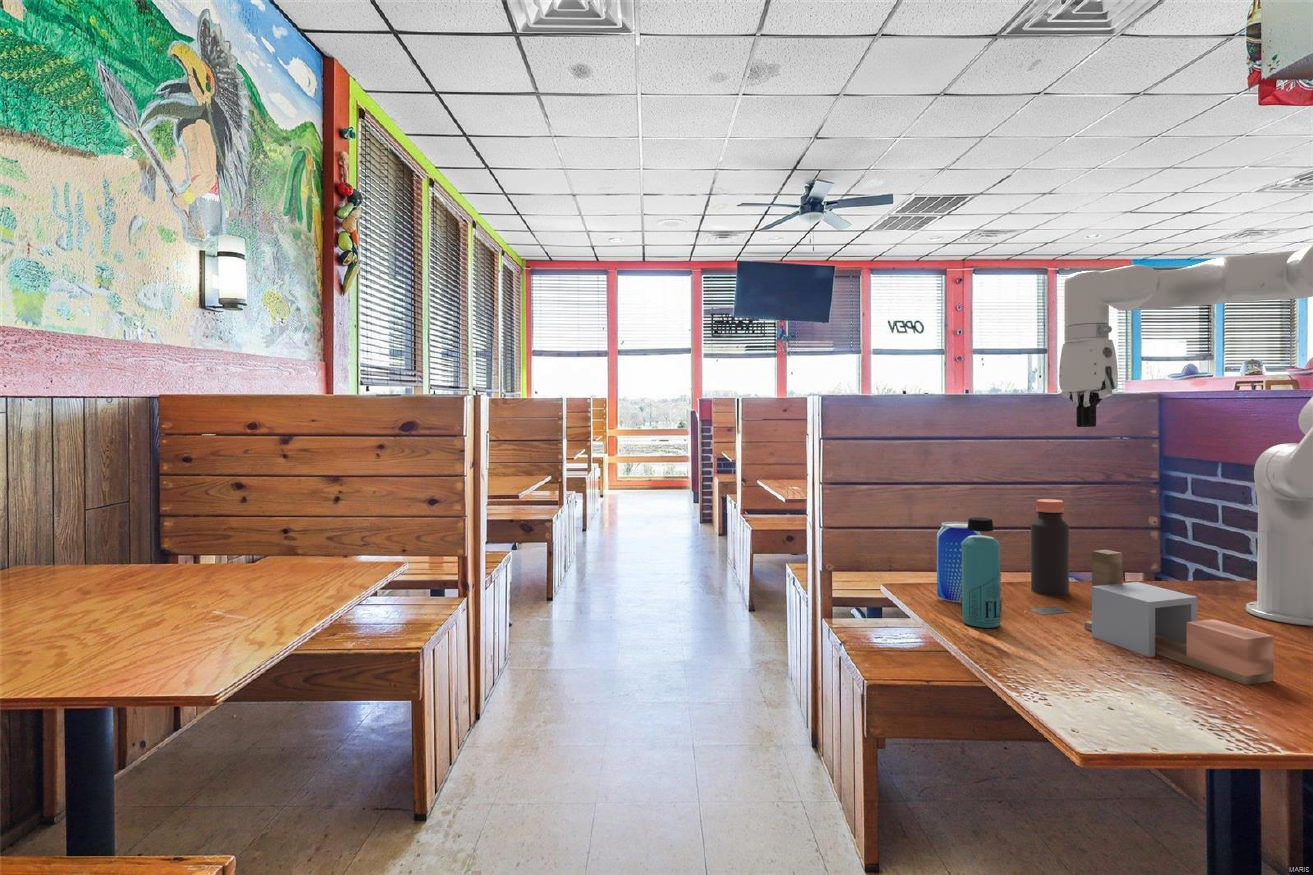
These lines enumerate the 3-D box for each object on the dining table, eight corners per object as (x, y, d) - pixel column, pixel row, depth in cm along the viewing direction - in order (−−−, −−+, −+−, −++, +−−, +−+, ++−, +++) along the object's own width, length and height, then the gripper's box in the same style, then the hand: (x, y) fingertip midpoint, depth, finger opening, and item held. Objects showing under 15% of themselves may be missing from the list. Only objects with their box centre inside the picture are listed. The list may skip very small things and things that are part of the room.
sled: (1108, 625, 118) (1108, 548, 117) (1273, 680, 93) (1274, 583, 93) (1084, 628, 117) (1084, 550, 116) (1245, 685, 92) (1246, 586, 92)
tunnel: (1137, 632, 115) (1137, 581, 115) (1197, 651, 105) (1197, 596, 105) (1091, 637, 113) (1091, 586, 113) (1148, 658, 103) (1148, 602, 103)
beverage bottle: (985, 639, 116) (985, 521, 115) (952, 628, 122) (952, 517, 121) (1010, 632, 119) (1010, 518, 118) (977, 622, 125) (976, 513, 124)
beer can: (937, 606, 136) (936, 526, 135) (936, 596, 143) (936, 520, 143) (984, 610, 133) (983, 528, 132) (981, 599, 140) (980, 521, 140)
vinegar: (1025, 592, 145) (1025, 498, 144) (1060, 593, 144) (1060, 498, 143) (1039, 601, 138) (1039, 502, 137) (1075, 602, 137) (1075, 502, 136)
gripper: (1135, 330, 130) (1135, 426, 131) (1070, 339, 145) (1070, 426, 145) (1103, 330, 128) (1103, 427, 129) (1041, 339, 143) (1041, 426, 143)
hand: (1086, 426), depth 137 cm, fingers closed
